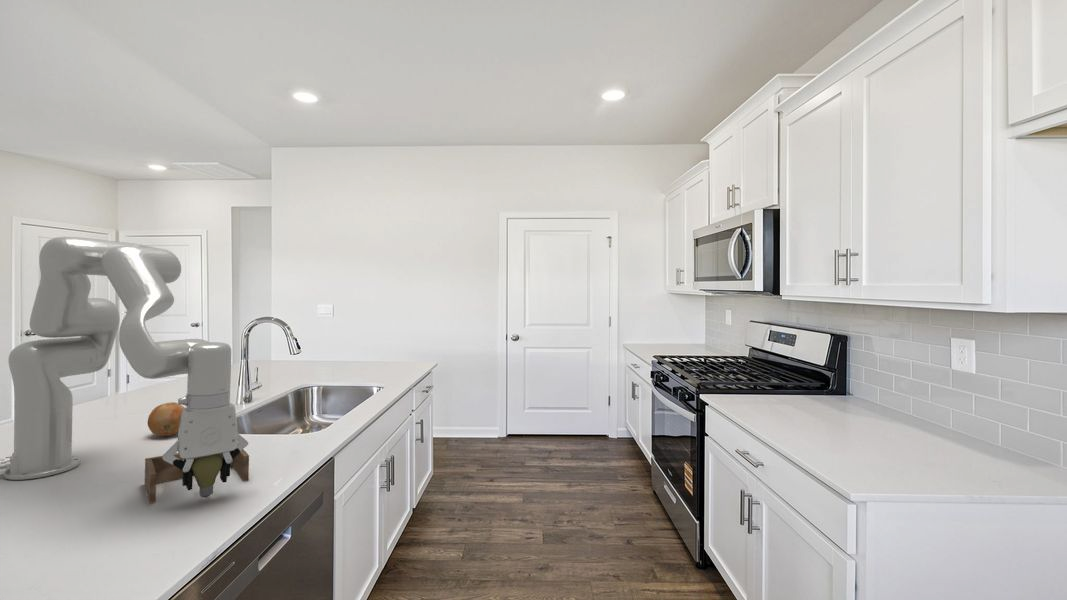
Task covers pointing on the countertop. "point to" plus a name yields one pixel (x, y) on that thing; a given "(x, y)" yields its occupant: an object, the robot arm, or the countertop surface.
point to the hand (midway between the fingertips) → (206, 483)
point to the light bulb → (206, 472)
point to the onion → (165, 419)
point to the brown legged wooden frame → (165, 471)
